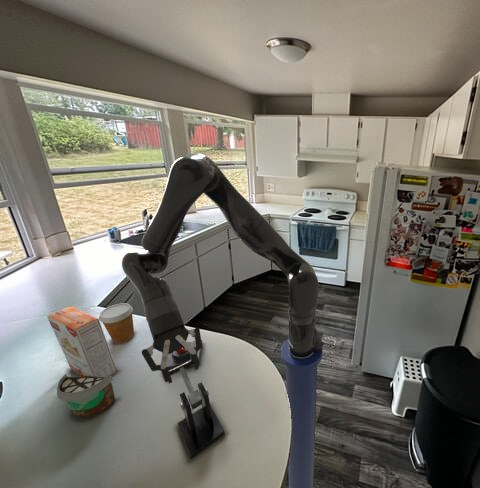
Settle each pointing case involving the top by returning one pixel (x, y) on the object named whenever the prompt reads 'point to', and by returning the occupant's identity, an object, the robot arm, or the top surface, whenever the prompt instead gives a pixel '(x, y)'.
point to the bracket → (199, 424)
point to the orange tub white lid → (118, 322)
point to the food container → (86, 394)
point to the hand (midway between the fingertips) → (184, 375)
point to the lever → (188, 385)
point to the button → (181, 350)
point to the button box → (181, 357)
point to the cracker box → (82, 342)
